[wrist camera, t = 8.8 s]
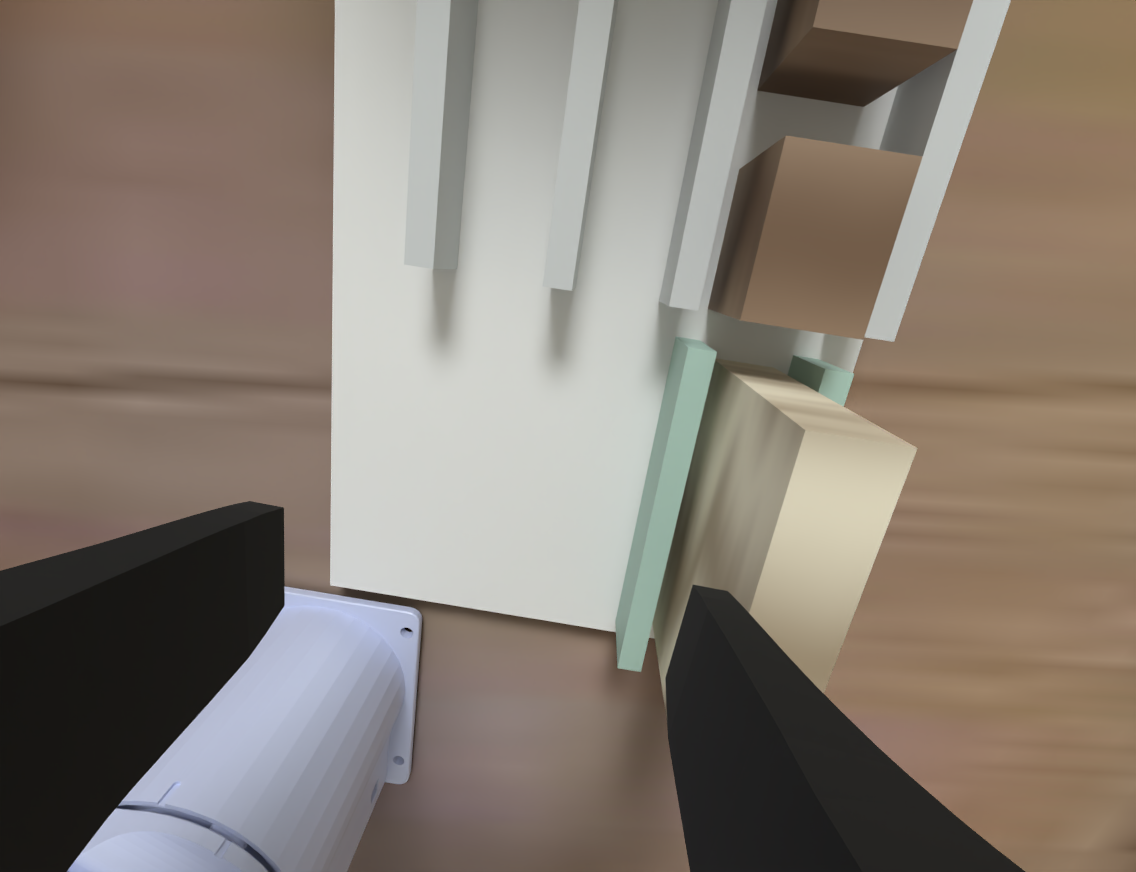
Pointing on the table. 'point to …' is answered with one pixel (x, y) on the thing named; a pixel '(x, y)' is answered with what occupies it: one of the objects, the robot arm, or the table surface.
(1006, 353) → the table surface
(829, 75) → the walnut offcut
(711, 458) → the birch sheet
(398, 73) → the rack
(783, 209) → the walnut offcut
